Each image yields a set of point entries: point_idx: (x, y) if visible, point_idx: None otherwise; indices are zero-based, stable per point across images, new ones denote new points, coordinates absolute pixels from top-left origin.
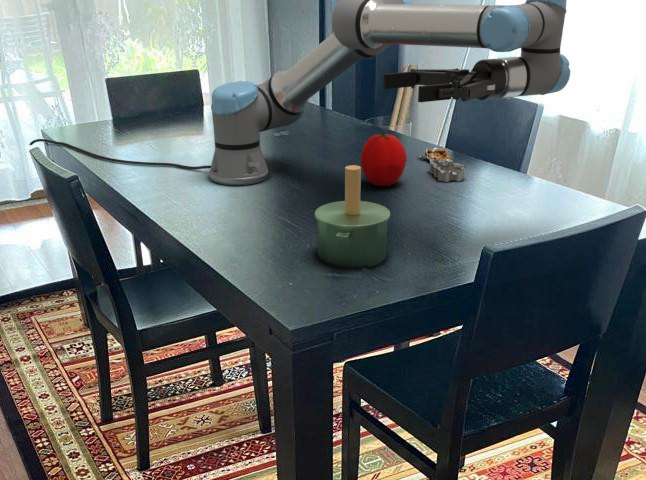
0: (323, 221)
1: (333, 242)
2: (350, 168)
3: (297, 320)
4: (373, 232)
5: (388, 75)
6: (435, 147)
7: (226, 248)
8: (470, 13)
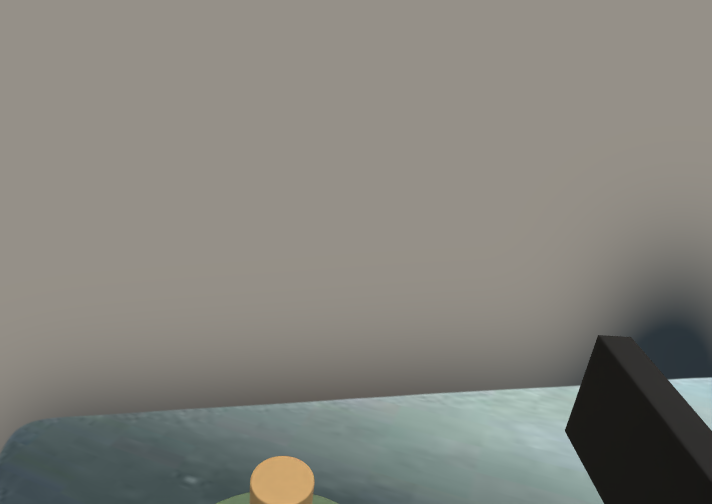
0: (249, 493)
1: None
2: (274, 467)
3: (36, 436)
4: None
5: (607, 361)
6: None
7: (431, 438)
8: None
